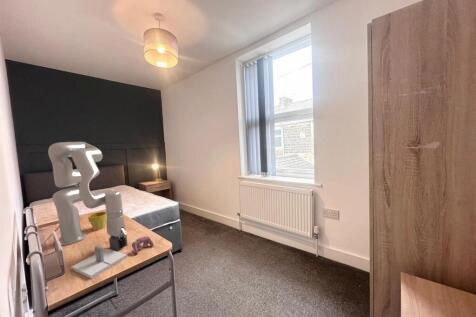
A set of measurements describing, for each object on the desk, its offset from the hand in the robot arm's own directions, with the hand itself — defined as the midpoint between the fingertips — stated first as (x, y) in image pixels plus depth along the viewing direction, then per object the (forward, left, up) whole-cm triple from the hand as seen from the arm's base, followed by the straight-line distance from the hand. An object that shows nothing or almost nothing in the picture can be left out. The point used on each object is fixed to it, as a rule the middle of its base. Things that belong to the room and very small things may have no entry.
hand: (118, 245), depth 109 cm
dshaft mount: (+6, -13, -1) cm, 14 cm away
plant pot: (-38, +10, -1) cm, 39 cm away
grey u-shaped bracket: (0, 0, -1) cm, 1 cm away
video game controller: (+15, +4, -1) cm, 15 cm away
